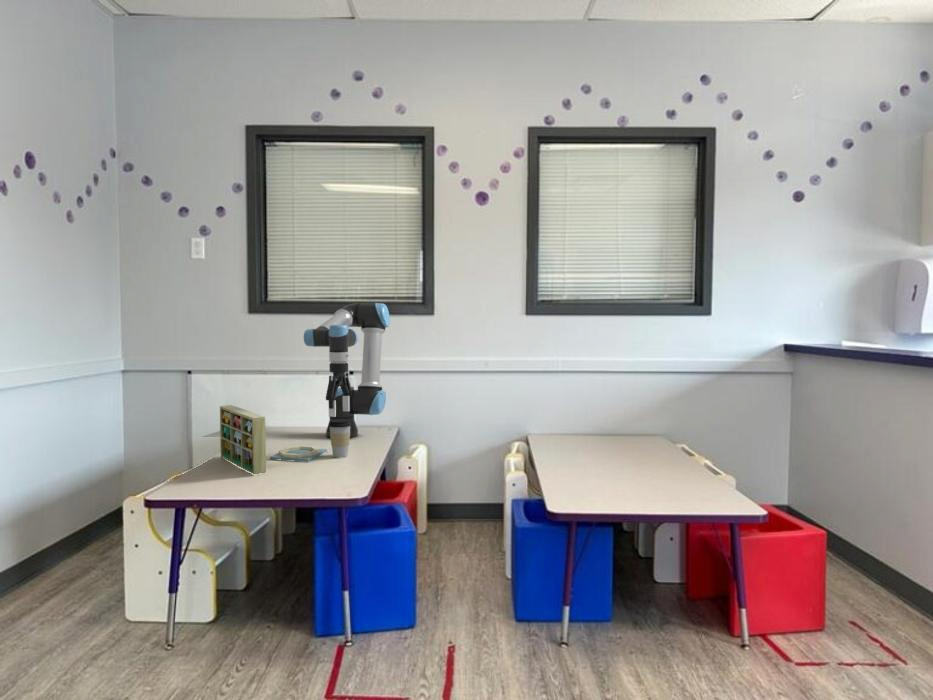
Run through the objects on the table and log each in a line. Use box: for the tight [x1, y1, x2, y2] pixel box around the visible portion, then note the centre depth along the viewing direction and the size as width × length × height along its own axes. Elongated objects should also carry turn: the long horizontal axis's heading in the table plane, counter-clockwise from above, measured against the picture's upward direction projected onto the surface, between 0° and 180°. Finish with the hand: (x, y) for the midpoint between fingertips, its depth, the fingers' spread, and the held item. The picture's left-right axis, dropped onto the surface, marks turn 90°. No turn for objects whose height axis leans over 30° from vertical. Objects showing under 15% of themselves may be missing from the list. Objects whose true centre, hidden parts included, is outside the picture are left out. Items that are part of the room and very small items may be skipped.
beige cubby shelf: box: [219, 404, 267, 474], centre depth 230 cm, size 35×5×22 cm, turn 41°
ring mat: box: [269, 445, 328, 463], centre depth 246 cm, size 17×17×2 cm
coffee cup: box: [327, 419, 351, 458], centre depth 245 cm, size 9×9×15 cm
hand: (339, 413), depth 244 cm, fingers open, 13 cm apart
